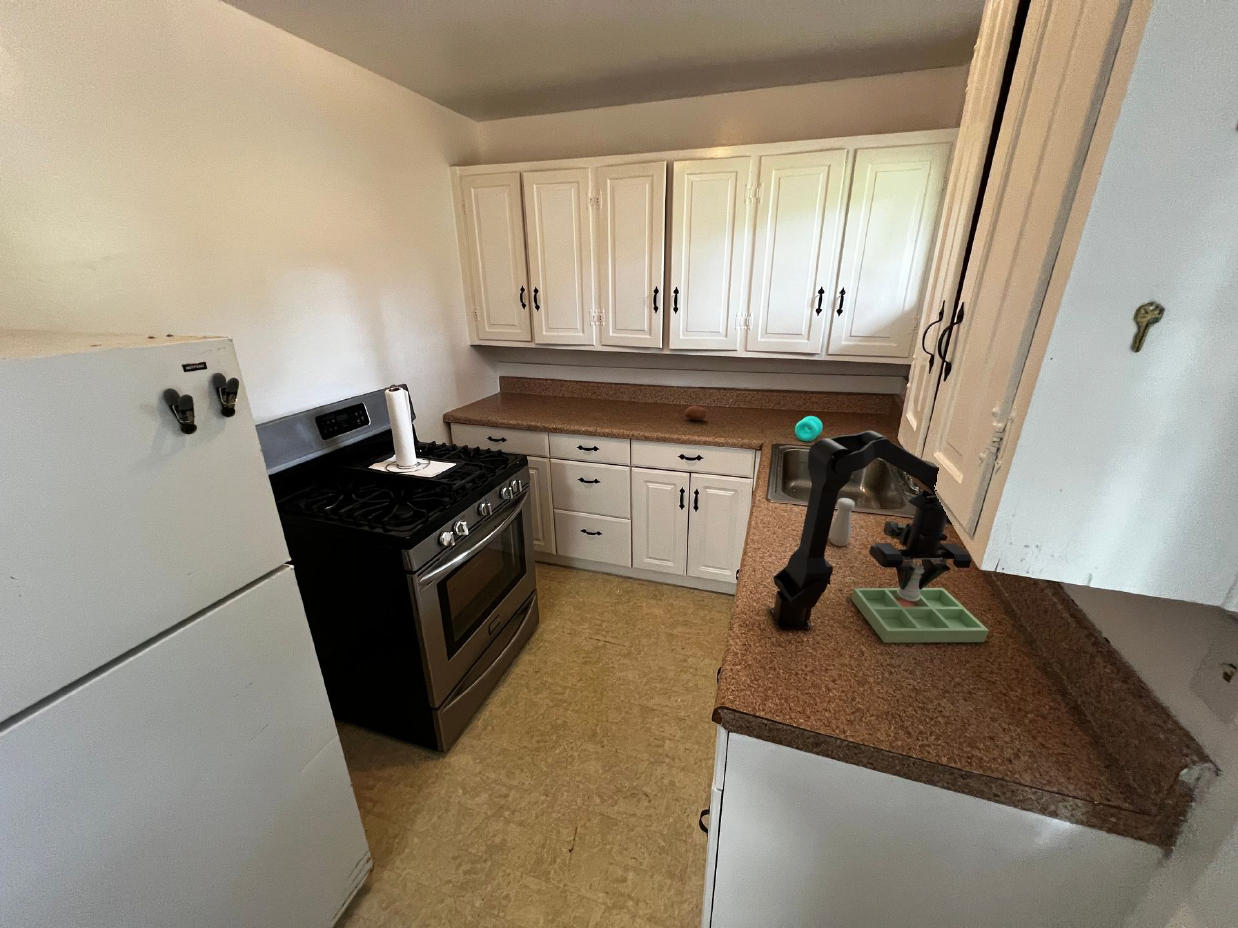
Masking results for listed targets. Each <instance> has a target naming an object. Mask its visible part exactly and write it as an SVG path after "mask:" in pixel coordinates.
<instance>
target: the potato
mask: <svg viewBox="0 0 1238 928" xmlns="http://www.w3.org/2000/svg"><path fill="white" fill-rule="evenodd" d="M684 416H685V418H686V419H688V420H692V421H694V422H700V421H703V420H704V419H705V418H706V417H707V410H706V409H705V408H704V407H701V406H698V405H692V406H690V407H688V408H687V409H686V410H685V412H684Z"/></svg>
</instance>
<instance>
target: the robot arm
mask: <svg viewBox="0 0 1238 928" xmlns="http://www.w3.org/2000/svg"><path fill="white" fill-rule="evenodd" d="M877 459H881V460H882V461H884V462H885V463H887V464H889V465H891V466H893V467H895V468H896V469H898V470H900V471H902V472H903V473H905V474H906V475H907V476H909V478H910V479H911V481H912V482H913V483H914V484H915V485H916V486H917V487H919V489H922V490H923V491H925V492H927V493H929V494H931V495H932V496H931V495H929V496H926V495H924V494H922V493H918V494H917V495H915V496H912V497H911V498H909V499H908V500H907V503H909V504H910V505H912V506H914V507H915V509H914V513H913V519H912V521H911V522H907V523H898V521H893V520H886V521H885V523H884V526H883V535H885V536H888V537H890V539H892V540H898V541H899V542H898V544H899V545H900V546H902V547H905V548H901V549H898V548H896V546H895V545H893V544H892V543H891V542H874V543H872V544H871V545H870V546H869V552H868V554H869V555H870V556H871V557H872V558H873V559H874V560H875V561H876V562H877V563H878V565H879V566H881V567H882V568H885V569H895V570H896V574H897V575H896V576H897V581H898V587H900V588H901V589H902V590H904V589H905V588H906V586H907V584H908V582H909V580H910V578H911V576H912V574H913V572H914V570H915V569H914V568H913V567H912V566H911V563H912V562H914V560H917V561H918V560H920V561H921V564H922V566H923V569H924V573H922V574H921V578H920V580H919V589H920V590H921V589H923V588H926V587H927V586H928V585H929V584H930V583H931V582H933V581H934V580H935V579H937V578H938V577H940V576H941V575H942V574H944V573H945V572H950V571H951V567H950V566H949V565H947V564H948V560H952V565H953V566H954V567H955V568H956V569H971V565H972V562H973V558H972V555H971V553H969V552H968V551H966V550H965V549H964V548H963V547H962V546H960V545H958V544H957V543H956V542H947V541H948V537H949V536H948V535H947V534H945V531H946V530H945V529H946V526H947V524H948V525H951V526H953V525H952V523H951V522H950V520H949V519H948V516H947V515H946V512H945V511H944V509H943V506H942V505H941V502H939V499H938V498H937V496H936V494H935V491H937V490H935V491H934V489H935V487H934V485H935V486H936V482H937V474H938V471H939V467H937V466H936V465H935V464H934V463H935V462H933V463H932V461H930V460H926V459H921V458H920V457H918V456H916V455H915V454H913V453H911V452H910V451H908V450H906V449H905V448H903V447H901V446H899V445H898V444H897V443H894V442H893V441H891V440H890V438H889V437H887V436H885V435H884V434H881V433H878V432H876V431H874V430H865V431H863V432H862V431H861V432H859V433H854V434H845V435H836V436H834V437H830V438H827V437H826V438H821V439H819V440H816V442H815V443H812V444H811V446H810V447H809V449H808V454H807V470H808V474H809V478H810V483H811V487H810V492H809V498H808V502H807V508H806V512H805V516H804V522H803V527H802V532H801V536H800V542H799V546H798V548H797V549H796V550H795V551H794V552H793V553H792V554H790V555H789V559H788V562H787V565H786V566H785V567H783V568H782V569H781V570H780V571H779V572H777V573H776V574H775V575H773V577H772V580H773V583H774V585H775V587H776V588H777V589H778V590H776V594H775V599H774V606H773V607H770V613H771V615H772V617H773V619H774V621H775V623H776V625H777V627H778V629H779V630H785V631H787V630H790V631H791V630H792V631H793V630H797V631H798V630H799V631H800V630H811V625H810V623H809V622H810V620H811V615H812V610H813V608H815V607H816V606H817V604H818V603H819V600H820V598H821V597H822V595H823V594H824V593H825V592H826V590H827V588H828V586H831V585H832V584H831V578H832V575H833V573H834V566H833V565H832V564H831V563H830V562H829V561H828V560H827V559H826V558H825V554H826V550H827V545H828V541H829V532H830V528H831V525H832V523H833V520H834V514H835V509H836V506H837V502H838V498H839V497H838V496H839V493H840V491H841V490H842V489H843V488H844V487H845V486H846V485H847V484H848V483H849V482H850V480H851V478H852V475H853V473H855V472H857V471H861V470H863V469H865V468H867V467H868V466H869V465H870V464H871V463H872V462H874V460H877ZM945 542H946V543H945ZM970 555H971V556H970Z"/></svg>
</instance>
